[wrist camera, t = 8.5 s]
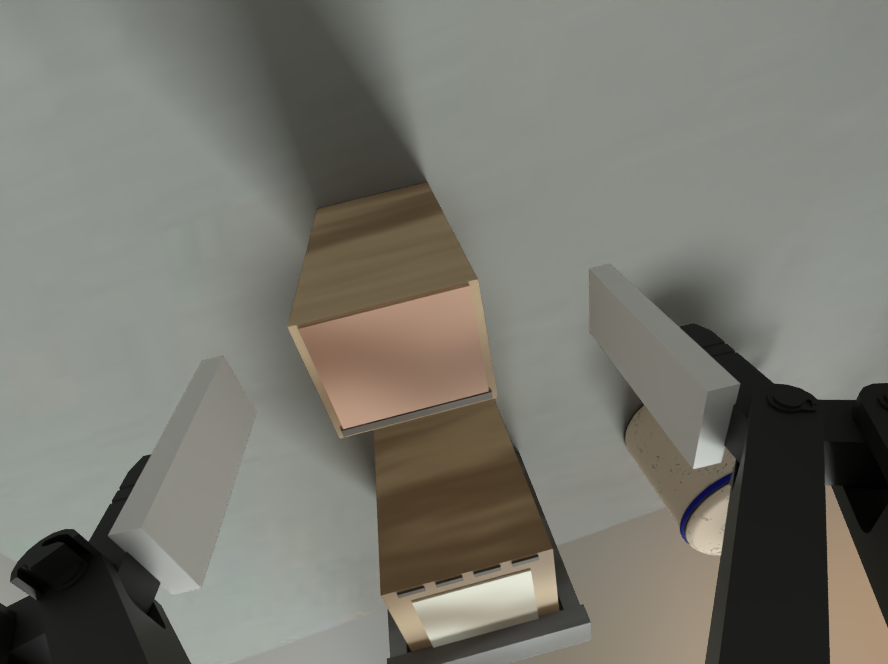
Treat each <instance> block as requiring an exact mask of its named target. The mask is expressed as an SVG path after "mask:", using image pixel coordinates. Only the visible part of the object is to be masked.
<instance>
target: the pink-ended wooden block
mask: <svg viewBox="0 0 888 664" xmlns="http://www.w3.org/2000/svg"><path fill="white" fill-rule="evenodd" d="M288 329H289V332H290V334H291V336H292V338H293V340H294V342H295V344H296V346H297V349H298V351H299V353H300V355H301V357H302V359H303V361H304V364H305V366H306V368H307V370H308V372H309V374H310V376H311V378H312V381H313V383H314V385H315V387H316V389H317V391H318V393H319V395H320V398H321V400H322V402H323V404H324V406H325V408H326V410H327V413H328V415H329V417H330V419H331V421H332V423H333V425H334V427H335V430H336V432H337V434H338V436H339V438H340V439H341V438H344V437H348V436H352V435H356V434H360V433H364V432H368V431H371V430H375V429H379V428H383V427H387V426H391V425H394V424H398V423H402V422H406V421H410V420H414V419H417V418H421V417H425V416H429V415H433V414H437V413H440V412H444V411H448V410H452V409H456V408H460V407H463V406H467V405H471V404H475V403H479V402H483V401H486V400H490V399H494V398H498V396H497V390H496V384H495V378H494V372H493V366H492V360H491V354H490V348H489V342H488V336H487V330H486V324H485V318H484V312H483V306H482V300H481V294H480V288H479V282H478V278H477V276H476V274H475V273H474V271H473V269H472V267H471V265H470V263H469V261H468V259H467V257H466V255H465V253H464V251H463V250H462V248H461V246H460V244H459V242H458V240H457V238H456V236H455V234H454V232H453V230H452V228H451V227H450V225H449V223H448V221H447V219H446V217H445V215H444V213H443V211H442V209H441V207H440V205H439V203H438V202H437V200H436V198H435V196H434V194H433V192H432V190H431V188H430V186H429V184H428V182H425V183H421V184H417V185H413V186H409V187H405V188H401V189H397V190H392V191H388V192H384V193H380V194H376V195H372V196H368V197H364V198H360V199H356V200H351V201H347V202H343V203H339V204H335V205H331V206H327V207H323V208H319V209H317V212H316V216H315V220H314V223H313V227H312V231H311V235H310V239H309V243H308V247H307V251H306V255H305V259H304V263H303V267H302V271H301V275H300V279H299V283H298V287H297V291H296V295H295V299H294V303H293V307H292V311H291V315H290V319H289V323H288Z"/></svg>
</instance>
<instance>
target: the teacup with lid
mask: <svg viewBox="0 0 888 664" xmlns="http://www.w3.org/2000/svg"><path fill="white" fill-rule="evenodd" d="M625 441H626V446H627V449H628V451H629V452H630V454H631V455H632V457H633V458H634V460H635V461H636V463H637V464H638V466H639V467H640V469H641V470H642V472H643V473H644V475H645V476H646V478H647V479H648V481H649V482H650V484H651V485H652V487H653V488H654V490H655V491H656V493H657V494H658V495H659V497H660V498H661V500H662V501H663V503H664V504H665V506H666V507H667V509H668V510H669V512H670V513H671V514H672V516H673V518H674V519H675V521H676V522H677V524H678V525H679V527H680V533H681V535H682V537H683V539H684V540H685V541H686V542H687V543H688V544H690V545H691V546H692V547H693V548H694V549H696V550H698V551H700V552H702V553H705V554H710V555H721V551H722V544H723V537H724V530H725V523H726V517H727V510H728V503H729V496H730V489H731V486H730V485H729V483H730V479H731V475H732V471H733V468H734V464H735V460H736V458H735V457H734V456H733V455H732V454H731V453H730V452H729V450H728V449H727V448H726V447H725V450H724V454H723V458H722V462H721V463H717V464H713V465H709V466H705V467H701V468H697V469H692V467H691V466H690V465H689V463H688V462H687V461H686V459H685V458H684V457H683V455H682V454H681V453H680V451H679V450H678V449H677V447H676V446H675V445H674V443H673V442H672V441H671V439H670V438H669V437H668V436H667V434H666V433H665V432H664V430H663V429H662V428H661V426H660V425H659V424H658V422H657V421H656V420H655V418H654V417H653V416H652V414H651V413H650V412H649V410H648V409H647V408H646V406H645V405H643V406H642V407H641V408H640V409H639V410H638V412H637V413H636V414H635V415H634V416H633V418H632V420H631V421H630V423H629V425H628V428H627V431H626V436H625Z"/></svg>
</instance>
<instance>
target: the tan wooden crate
mask: <svg viewBox="0 0 888 664" xmlns="http://www.w3.org/2000/svg"><path fill="white" fill-rule="evenodd" d="M374 447H375V471H376V495H377V518H378V542H379V565H380V589H381V597H382V599H383V601H384V602H385V604H386V606H387V608H388V624H389V643H390V658H388V659H387V664H508V663H512V662H515V661H519V660H522V659H526V658H529V657H533V656H537V655H540V654H544V653H547V652H551V651H554V650H558V649H562V648H565V647H569V646H572V645H575V644H579V643H583V642H587V641H590V640H591V622H590V619H589V617H588V614H587V612H586V610H585V607H584V605H580V604H579V601H578V599H577V596H576V594H575V591H574V589H573V586H572V584H571V581H570V579H569V576H568V574H567V571H566V569H565V566H564V564H563V561H562V559H561V556H560V554H559V551H558V549H557V546H556V544H555V541H554V539H553V536H552V534H551V531H550V529H549V526H548V524H547V521H546V519H545V516H544V513H543V511H542V508H541V506H540V503H539V501H538V498H537V496H536V493H535V491H534V488H533V486H532V483H531V481H530V478H529V476H528V473H527V471H526V468H525V466H524V463H523V461H522V458H521V456H520V453H515V450H514V448H513V445H512V443H511V440H510V438H509V435H508V432H507V430H506V427H505V425H504V422H503V420H502V417H501V415H500V412H499V409H498V407H497V404H496V402H495V399H490V400H486V401H483V402H479V403H475V404H471V405H467V406H463V407H460V408H456V409H452V410H448V411H444V412H440V413H437V414H433V415H429V416H425V417H421V418H417V419H414V420H410V421H406V422H402V423H398V424H394V425H391V426H387V427H383V428H379V429H375V430H374Z"/></svg>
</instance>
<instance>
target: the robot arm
mask: <svg viewBox="0 0 888 664" xmlns="http://www.w3.org/2000/svg"><path fill="white" fill-rule="evenodd" d="M589 323H590V333H591V335H592V336H593V337H594V339H595V340H596V341H597V343H598V344H599V345H600V347H601V348H602V349H603V351H604V352H605V353H606V355H607V356H608V357H609V359H610V360H611V361H612V363H613V364H614V365H615V367H616V368H617V369H618V371H619V372H620V373H621V375H622V376H623V377H624V379H625V380H626V381H627V382H628V384H629V385H630V386H631V388H632V389H633V390H634V392H635V393H636V394H637V396H638V397H639V398H640V400H641V401H642V402H643V404H644V405H645V406H646V408H647V409H648V410H649V412H650V413H651V414H652V416H653V417H654V418H655V420H656V421H657V422H658V424H659V425H660V426H661V428H662V429H663V430H664V432H665V433H666V434H667V436H668V437H669V438H670V439H671V441H672V442H673V443H674V445H675V446H676V447H677V449H678V450H679V451H680V453H681V454H682V455H683V457H684V458H685V459H686V461H687V462H688V463H689V465H690V466H691V467H692V469H697V468H701V467H705V466H709V465H713V464H717V463H721V462H722V458H723V454H724V450H725V447H726V448H727V449H728V450H729V452H730V453H731V454H732V455H733V456H734V457H735V458H736V460H735V464H734V468H733V471H732V475H731V479H730V483H729V485H730V486H731V489H730V496H729V503H728V510H727V517H726V523H725V530H724V537H723V544H722V551H721V558H720V565H719V572H718V579H717V586H716V592H715V599H714V606H713V613H712V619H711V626H710V633H709V640H708V647H707V653H706V660H705V664H830V648H829V615H828V614H829V611H828V575H827V536H826V500H825V485H831V486H832V489H833V491H834V494H835V496H836V499H837V501H838V504H839V506H840V509H841V511H842V514H843V516H844V519H845V521H846V524H847V526H848V529H849V531H850V534H851V537H852V539H853V541H854V544H855V547H856V549H857V552H858V554H859V556H860V559H861V562H862V564H863V567H864V569H865V572H866V574H867V577H868V579H869V582H870V584H871V587H872V589H873V592H874V594H875V597H876V599H877V602H878V604H879V607H880V609H881V612H882V614H883V617H884V619H885V622H886V624H887V627H888V383H878V384H871V385H868V386H866V387H863V389H862V390H861V392H860V393H859V395H858V397H857V399H856V400H817V399H816V398H815V397H814V396H813V395H812V394H810V393H808V392H806V391H804V390H802V389H800V388H797V387H793V386H790V385H784V384H774V383H773V382H771V381H770V380H769V379H768V378H767V377H765V376H764V375H763V374H762V373H761V372H760V371H758V370H757V369H756V368H755V367H754V366H752V365H751V364H750V363H749V362H748V361H747V360H745V359H744V358H743V357H742V356H741V355H739V354H738V353H735V350H734V349H732V348H731V347H730V346H729V345H728V344H725V343H724V341H723V340H722V339H721V338H719V337H718V336H717V335H716V334H715V333H713V332H712V331H710V330H708V329H706V328H704V327H701V326H699V325H697V324H689V325H685V326H681V327H679V326H677V325H676V324H675V323H674V322H673V321H672V320H671V319H670V318H669V317H668V316H667V315H666V314H664V313H663V312H662V311H661V310H660V309H659V308H658V307H657V306H656V305H655V304H654V303H653V302H651V301H650V300H649V299H648V298H647V297H646V296H645V295H644V294H643V293H642V292H641V291H640V290H638V289H637V288H636V287H635V286H634V285H633V284H632V283H631V282H630V281H629V280H628V279H627V278H625V277H624V276H623V275H622V274H621V273H620V272H619V271H618V270H617V269H616V268H615V267H613V266H612V265H611V264H606V265H602V266H597V267H593V268H589ZM255 415H256V410H255V408H254V407H253V405H252V403H251V402H250V400H249V398H248V396H247V395H246V393H245V391H244V390H243V388H242V386H241V385H240V383H239V381H238V380H237V378H236V376H235V375H234V373H233V371H232V370H231V368H230V366H229V364H228V363H227V361H226V359H225V358H224V356H219V357H215V358H211V359H207V360H202V361H201V363H200V365H199V367H198V368H197V370H196V372H195V374H194V376H193V378H192V380H191V382H190V383H189V385H188V387H187V389H186V391H185V393H184V395H183V396H182V398H181V400H180V402H179V404H178V406H177V408H176V409H175V411H174V413H173V415H172V417H171V419H170V421H169V423H168V424H167V426H166V428H165V430H164V432H163V434H162V436H161V437H160V439H159V441H158V443H157V445H156V447H155V449H154V450H153V452H152V454H151V455H147V456H143V457H142V458H141V459H140V460H139V461H138V462H137V463H136V464H135V465H134V466H133V468H132V469H131V470H130V471H129V472H128V473H127V475H126V477H125V479H124V480H123V482H122V484H121V486H120V487H119V488H120V490H119V491H117V493H116V494H115V496H114V498H113V500H112V504H110V505H109V507H108V509H107V510H106V512H105V514H104V516H103V517H102V519H101V521H100V523H99V524H98V526H97V528H96V530H95V531H94V533H93V535H92V537H91V538H90V540H89V542H88V541H87V540H86V539H84V538H83V537H82V536H81V535H80V534H79V533H78V532H76V531H75V530H74V529H64V530H61V531H58V532H55V533H53V534H51V535H49V536H47V537H45V538H44V539H42V540H40V541H39V542H38V543H37V544H35V545H34V546H33V547H32V548H30V549H29V550H28V551H27V552H26V553H25V554H24V555H23V556H22V558H21V559H20V560H19V561H18V562H17V564H16V566H15V567H14V569H13V571H12V573H11V579H10V582H11V583H12V584H14V585H15V586H17V587H18V588H20V589H21V590H23V591H24V592H26V593H27V594H29V596H28V597H26V598H23V599H22V600H20V601H18V602H16V603H14V604H12V605H10V606H8V607H6V606H4V605H2V604H1V603H0V664H191V663H190V661H189V659H188V657H187V655H186V653H185V651H184V649H183V647H182V645H181V643H180V641H179V639H178V637H177V635H176V633H175V631H174V629H173V627H172V626H171V624H170V622H169V620H168V618H167V616H166V614H165V612H164V610H163V608H162V606H161V605H160V604H159V603H158V602H157V601H156V600H155V599H154V598H155V596H156V593H157V591H158V588H159V585H160V584H161V585H162V586H163V587H164V588H165V589H166V590H167V591H168V592H170V593H171V594H172V595H175V594H180V593H184V592H188V591H192V590H196V589H200V588H202V585H203V582H204V578H205V575H206V572H207V569H208V566H209V562H210V559H211V556H212V553H213V550H214V547H215V543H216V540H217V537H218V534H219V531H220V527H221V524H222V521H223V518H224V515H225V511H226V508H227V505H228V502H229V499H230V495H231V492H232V489H233V486H234V483H235V479H236V476H237V473H238V470H239V467H240V463H241V460H242V457H243V454H244V451H245V447H246V444H247V441H248V438H249V435H250V431H251V428H252V425H253V422H254V419H255Z"/></svg>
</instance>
